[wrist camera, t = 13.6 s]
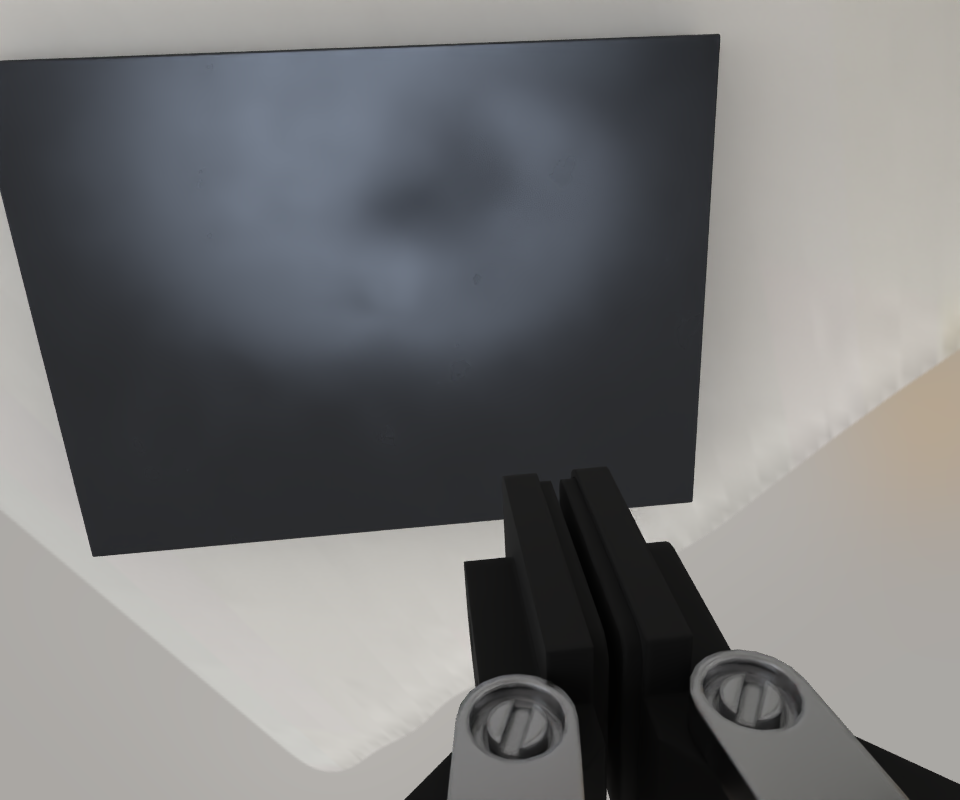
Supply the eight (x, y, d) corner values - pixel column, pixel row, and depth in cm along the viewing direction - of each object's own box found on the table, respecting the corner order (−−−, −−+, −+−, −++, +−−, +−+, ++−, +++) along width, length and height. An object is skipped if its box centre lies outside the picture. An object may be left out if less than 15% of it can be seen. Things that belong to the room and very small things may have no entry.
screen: (686, 494, 40) (693, 502, 39) (98, 548, 38) (92, 557, 37) (712, 35, 33) (721, 33, 32) (-22, 63, 30) (-34, 61, 29)
